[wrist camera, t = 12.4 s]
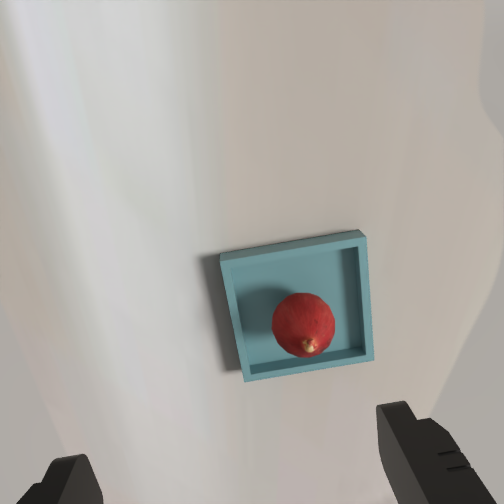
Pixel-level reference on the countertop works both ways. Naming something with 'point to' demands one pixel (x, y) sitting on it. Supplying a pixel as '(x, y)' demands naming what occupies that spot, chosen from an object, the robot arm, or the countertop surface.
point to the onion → (303, 325)
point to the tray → (299, 281)
